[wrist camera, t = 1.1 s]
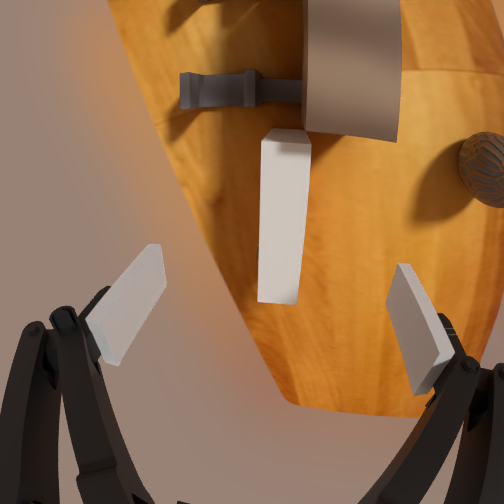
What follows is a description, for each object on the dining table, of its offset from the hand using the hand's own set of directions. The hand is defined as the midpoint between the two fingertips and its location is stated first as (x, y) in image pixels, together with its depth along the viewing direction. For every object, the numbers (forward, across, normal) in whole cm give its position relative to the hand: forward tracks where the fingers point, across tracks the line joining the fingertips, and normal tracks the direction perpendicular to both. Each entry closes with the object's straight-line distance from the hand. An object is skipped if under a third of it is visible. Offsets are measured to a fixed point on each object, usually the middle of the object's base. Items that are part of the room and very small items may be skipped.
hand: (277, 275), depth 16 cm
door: (+14, 0, 0) cm, 14 cm away
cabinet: (+13, -1, +15) cm, 20 cm away
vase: (+14, +20, +6) cm, 25 cm away
